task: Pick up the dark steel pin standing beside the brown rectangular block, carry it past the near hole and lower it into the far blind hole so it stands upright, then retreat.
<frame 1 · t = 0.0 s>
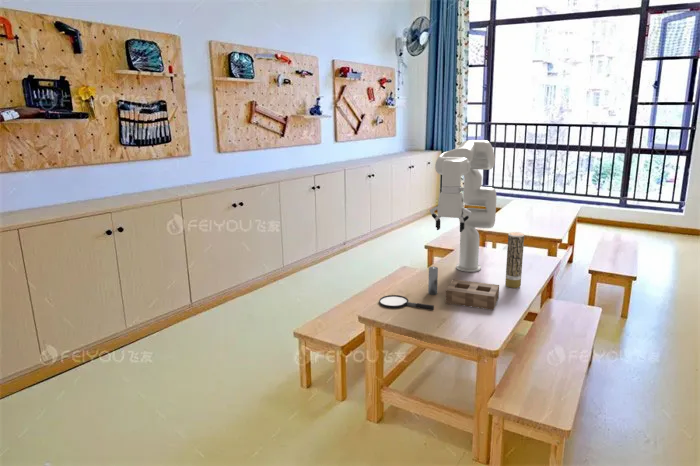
hand: (449, 230, 203), 31 cm above the table, tool pointing down, fingers open, 9 cm apart
paper tube: (512, 286, 225), on the table
brown rectangular block: (472, 300, 209), on the table
magnifying glass: (406, 306, 207), on the table
steel pin: (432, 293, 219), on the table
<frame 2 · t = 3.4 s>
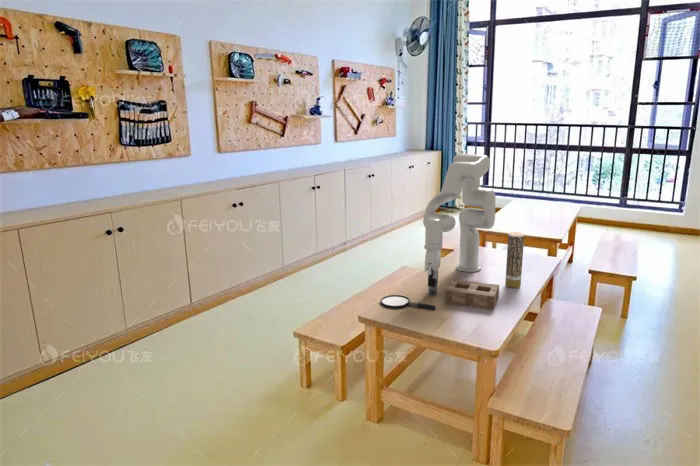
hand: (432, 284, 217), 4 cm above the table, tool pointing down, fingers closed on steel pin, 4 cm apart
steel pin: (432, 293, 219), on the table, touching gripper
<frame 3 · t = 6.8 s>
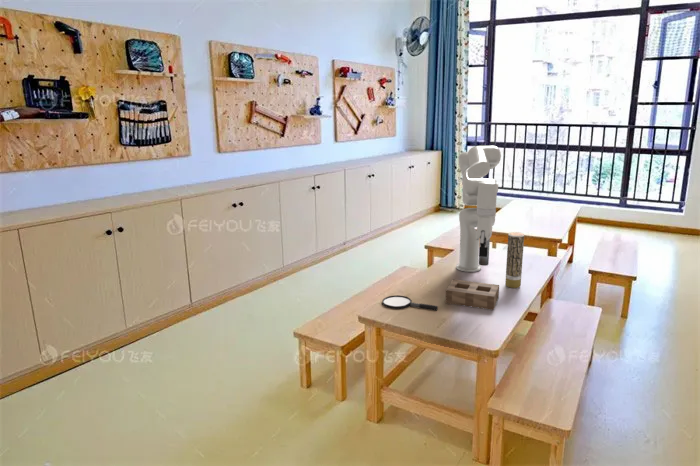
hand: (484, 254, 202), 21 cm above the table, tool pointing down, fingers closed on steel pin, 4 cm apart
steel pin: (483, 264, 204), point 17 cm above the table, touching gripper
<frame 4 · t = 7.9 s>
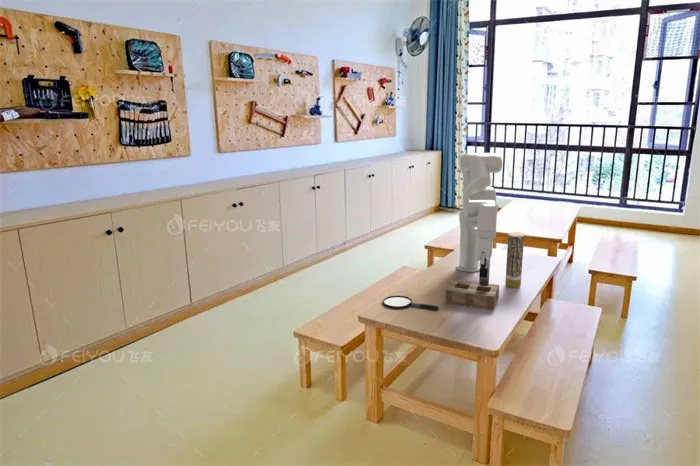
hand: (484, 274, 204), 12 cm above the table, tool pointing down, fingers closed on steel pin, 4 cm apart
steel pin: (483, 284, 205), point 8 cm above the table, touching gripper
when the fingers open (7 cm above the table, at t = 10.1 s): steel pin drops 1 cm, resting on brown rectangular block.
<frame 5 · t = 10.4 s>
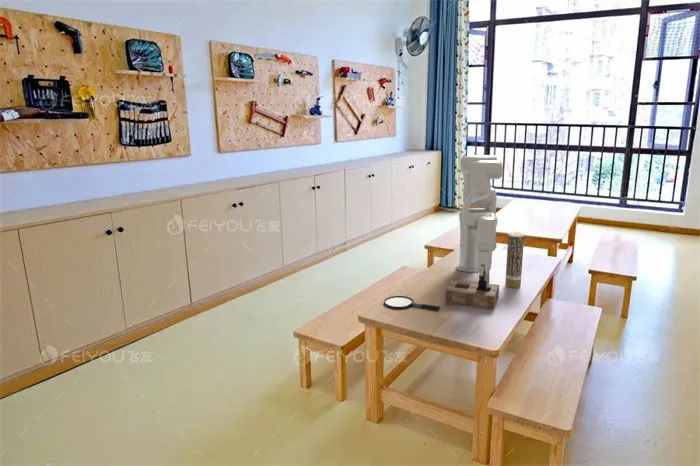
hand: (483, 285, 206), 7 cm above the table, tool pointing down, fingers open, 6 cm apart
steel pin: (482, 299, 207), point 1 cm above the table, touching brown rectangular block
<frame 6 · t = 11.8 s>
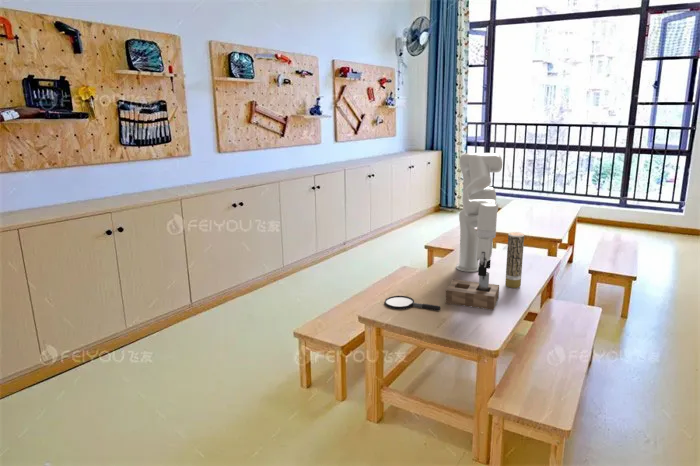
hand: (484, 271, 205), 13 cm above the table, tool pointing down, fingers open, 9 cm apart
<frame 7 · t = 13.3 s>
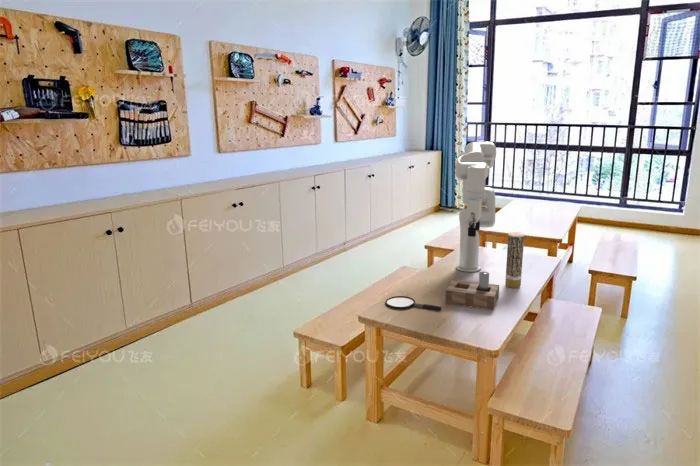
hand: (473, 233, 211), 28 cm above the table, tool pointing down, fingers open, 9 cm apart
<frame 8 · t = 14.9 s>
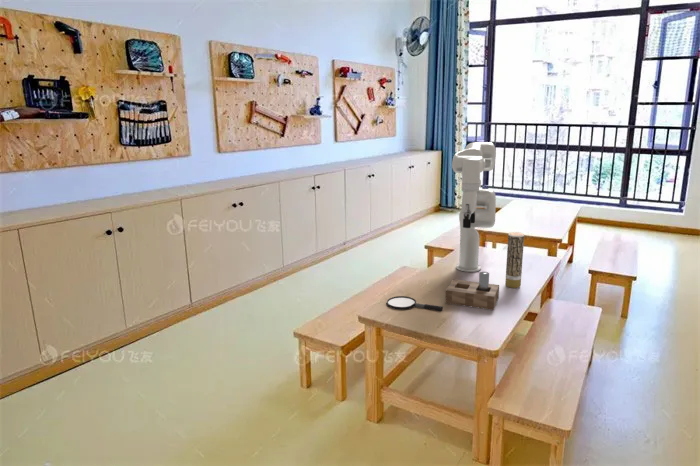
hand: (468, 225, 214), 30 cm above the table, tool pointing down, fingers open, 9 cm apart
at the end: steel pin 0.1 cm from the target spot on the brown rectangular block, point 1.0 cm above the brown rectangular block's base; steel pin tilted 0°; the gripper is holding nothing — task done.
